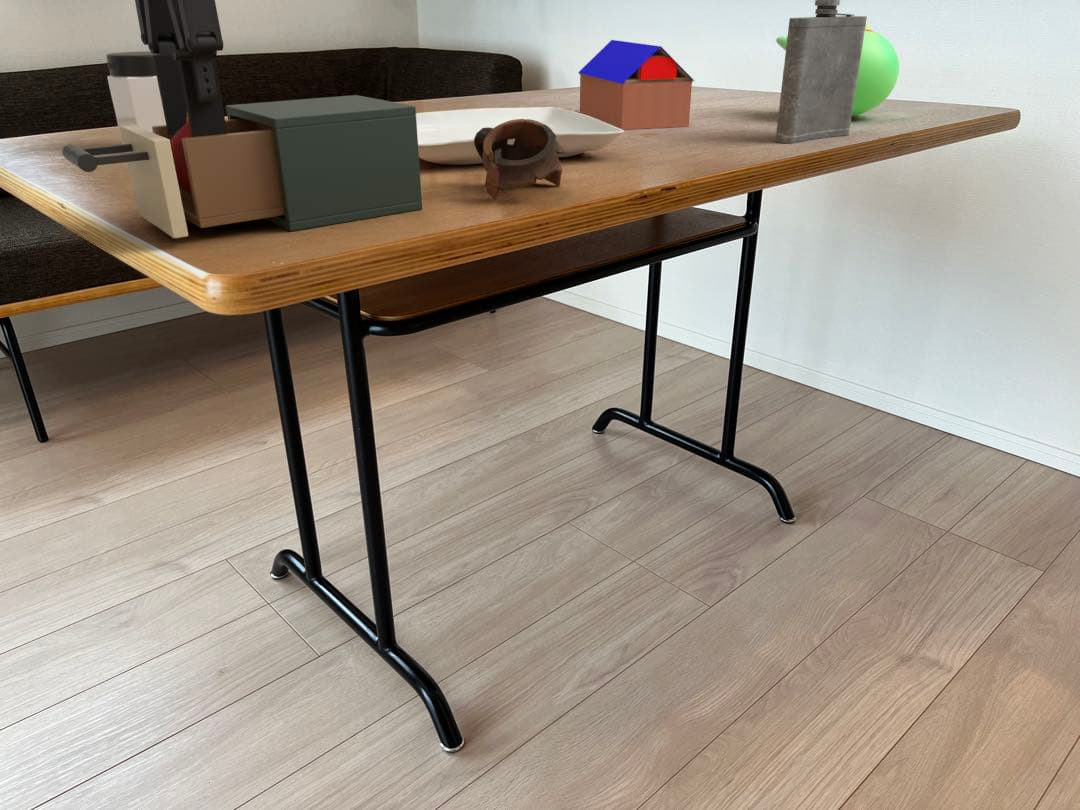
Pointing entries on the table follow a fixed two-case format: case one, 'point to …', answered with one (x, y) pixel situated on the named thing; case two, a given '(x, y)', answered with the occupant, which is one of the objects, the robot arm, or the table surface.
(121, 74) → the jar
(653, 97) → the house
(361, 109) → the cabinet
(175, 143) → the onion
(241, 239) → the table surface
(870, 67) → the toy bird
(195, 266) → the table surface
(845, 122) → the flask
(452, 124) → the square plate
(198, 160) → the drawer
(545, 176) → the pottery mug
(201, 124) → the robot arm
